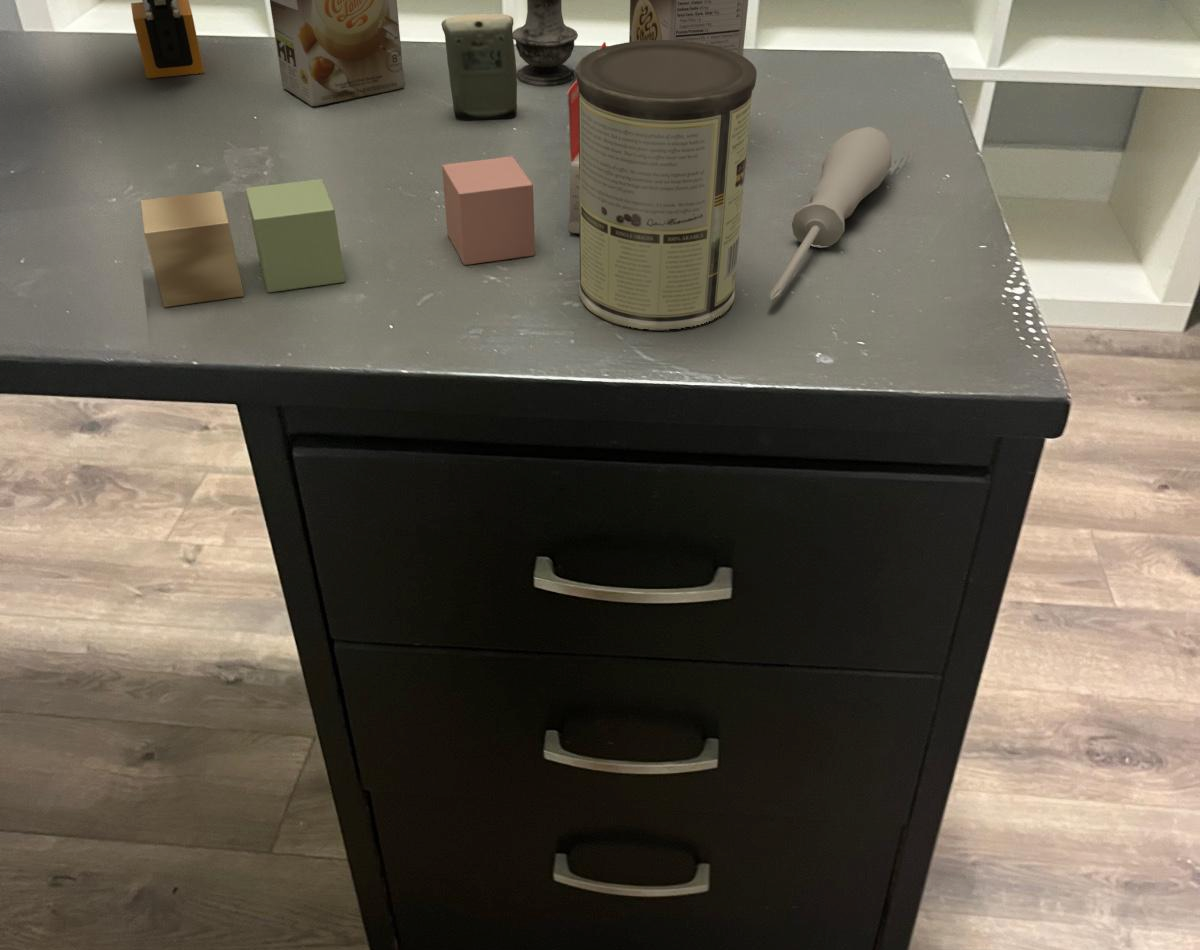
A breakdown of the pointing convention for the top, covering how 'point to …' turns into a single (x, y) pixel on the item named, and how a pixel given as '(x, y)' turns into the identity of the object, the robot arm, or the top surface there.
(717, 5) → the coffee box
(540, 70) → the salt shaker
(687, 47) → the coffee can
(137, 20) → the orange block
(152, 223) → the row block
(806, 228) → the screwdriver
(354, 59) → the coffee box
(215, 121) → the top surface
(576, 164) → the ink cartridge box
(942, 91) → the top surface
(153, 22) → the robot arm
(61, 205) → the top surface
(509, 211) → the row block
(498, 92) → the grey upright labelled block
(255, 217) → the row block
